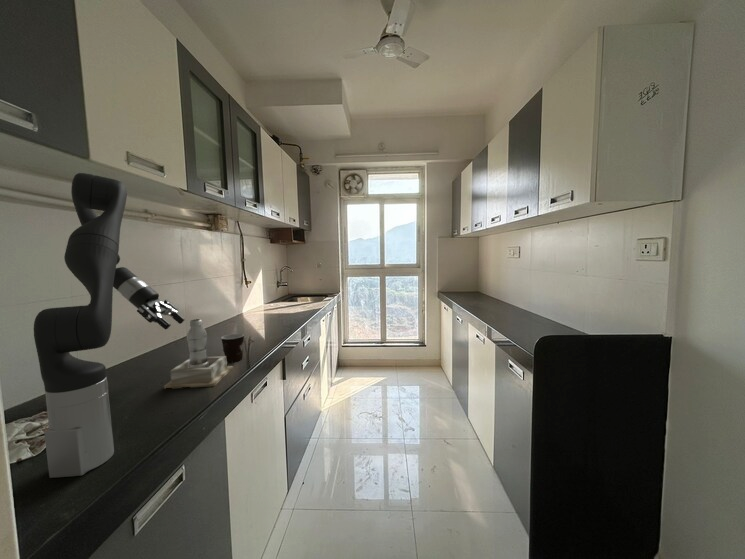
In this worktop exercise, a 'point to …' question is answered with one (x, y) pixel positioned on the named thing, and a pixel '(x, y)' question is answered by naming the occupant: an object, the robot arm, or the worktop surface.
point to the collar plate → (199, 374)
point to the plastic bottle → (197, 344)
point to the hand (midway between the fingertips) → (175, 324)
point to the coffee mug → (233, 347)
